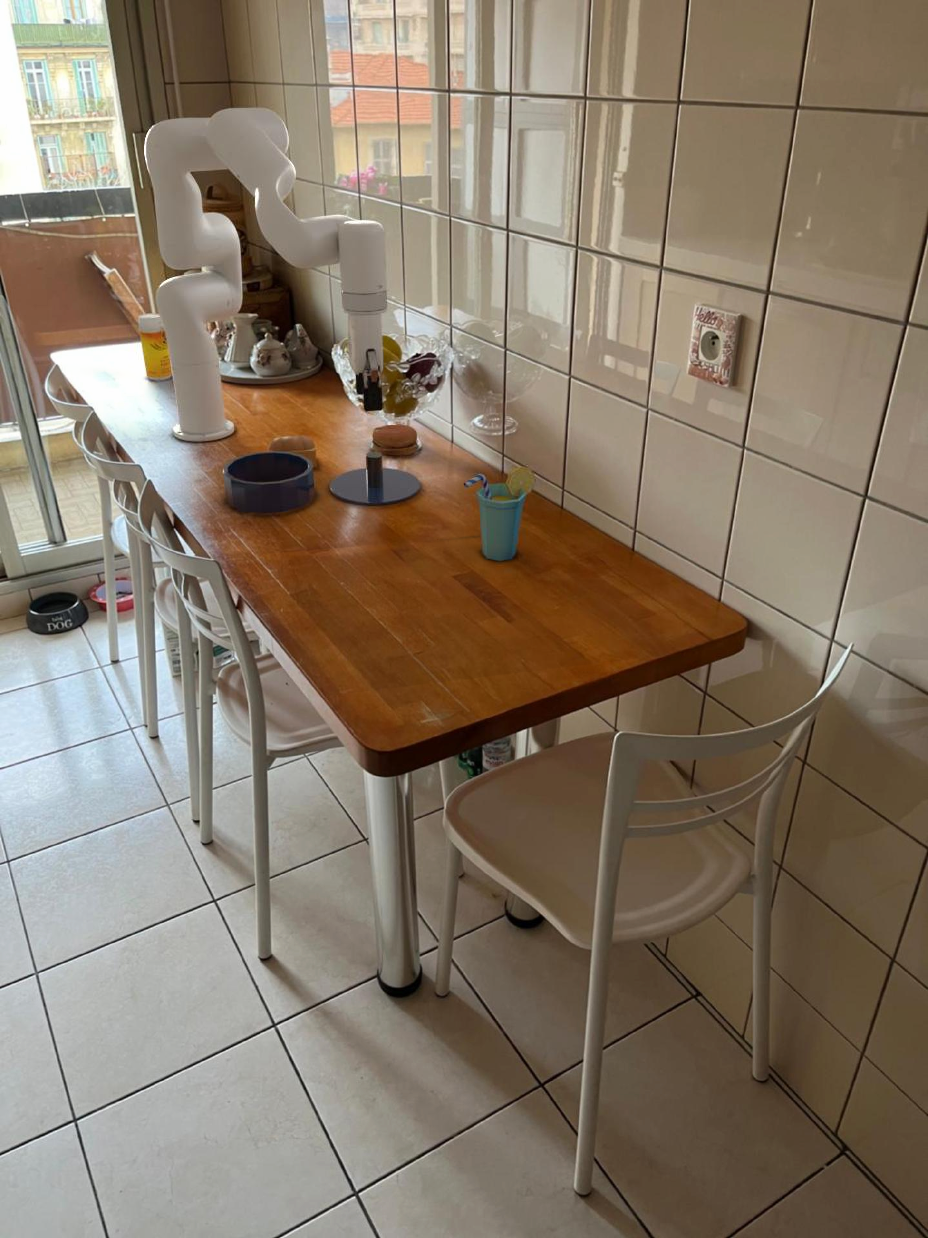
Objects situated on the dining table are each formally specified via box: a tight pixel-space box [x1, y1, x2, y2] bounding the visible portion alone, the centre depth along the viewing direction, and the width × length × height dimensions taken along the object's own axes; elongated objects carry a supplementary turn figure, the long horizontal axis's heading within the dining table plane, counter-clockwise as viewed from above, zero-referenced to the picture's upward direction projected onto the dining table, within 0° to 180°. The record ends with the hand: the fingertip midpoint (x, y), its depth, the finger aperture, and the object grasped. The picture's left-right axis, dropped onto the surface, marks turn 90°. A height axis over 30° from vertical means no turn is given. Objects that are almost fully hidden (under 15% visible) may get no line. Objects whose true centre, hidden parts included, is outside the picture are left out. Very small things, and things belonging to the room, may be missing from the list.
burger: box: [371, 423, 419, 456], centre depth 187 cm, size 10×9×5 cm
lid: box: [329, 451, 421, 506], centre depth 169 cm, size 17×17×7 cm
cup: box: [463, 465, 536, 562], centre depth 145 cm, size 14×8×15 cm, turn 133°
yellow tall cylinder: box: [137, 312, 173, 381], centre depth 225 cm, size 6×6×15 cm
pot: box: [222, 451, 316, 514], centre depth 165 cm, size 16×16×6 cm
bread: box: [268, 435, 318, 469], centre depth 178 cm, size 9×6×6 cm, turn 103°
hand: (369, 401), depth 162 cm, fingers open, 9 cm apart
